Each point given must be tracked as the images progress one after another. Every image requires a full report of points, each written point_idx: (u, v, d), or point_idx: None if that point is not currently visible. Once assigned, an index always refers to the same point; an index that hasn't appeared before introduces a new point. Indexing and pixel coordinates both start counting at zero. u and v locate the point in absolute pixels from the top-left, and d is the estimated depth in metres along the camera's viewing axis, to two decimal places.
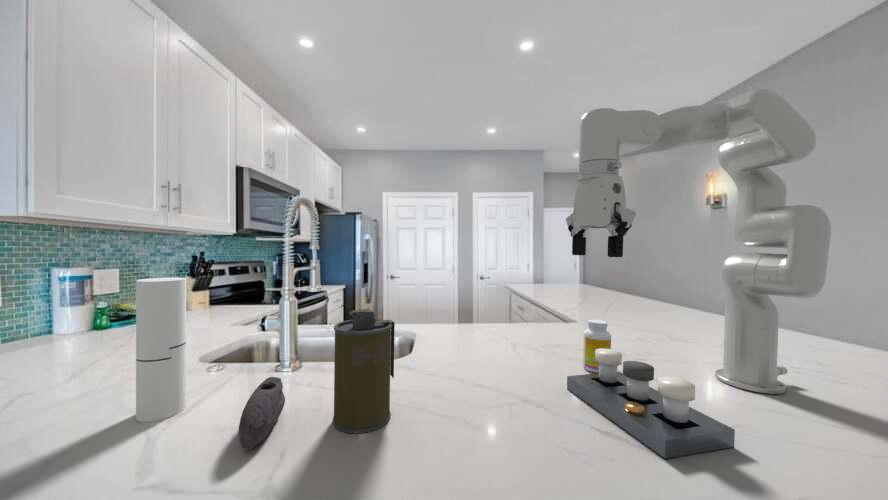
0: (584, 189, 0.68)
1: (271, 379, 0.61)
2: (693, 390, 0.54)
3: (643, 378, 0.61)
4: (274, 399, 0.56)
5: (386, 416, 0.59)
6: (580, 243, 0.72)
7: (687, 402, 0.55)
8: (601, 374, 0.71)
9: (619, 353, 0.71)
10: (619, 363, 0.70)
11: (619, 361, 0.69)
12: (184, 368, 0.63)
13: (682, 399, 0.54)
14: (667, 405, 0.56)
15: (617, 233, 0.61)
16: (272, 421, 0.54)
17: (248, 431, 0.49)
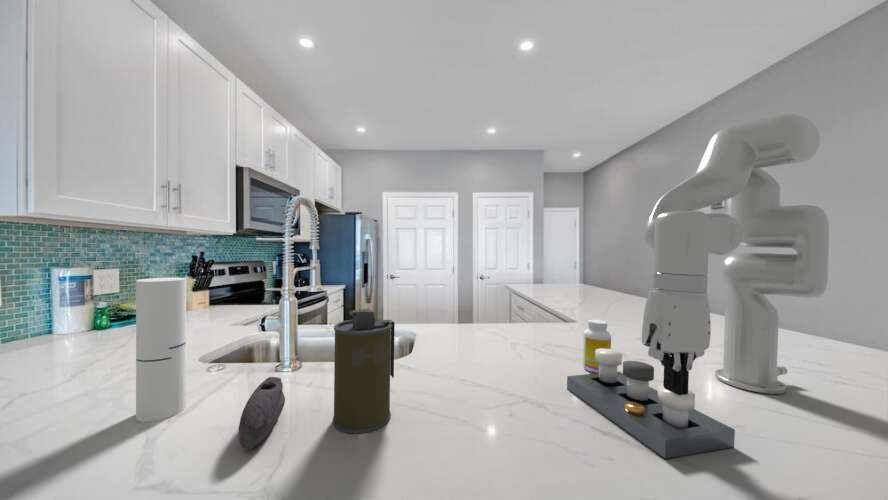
0: (687, 307, 0.53)
1: (271, 379, 0.61)
2: (693, 399, 0.54)
3: (643, 378, 0.61)
4: (274, 399, 0.56)
5: (386, 416, 0.59)
6: None
7: (687, 411, 0.55)
8: (601, 374, 0.71)
9: (619, 353, 0.71)
10: (619, 363, 0.70)
11: (619, 361, 0.69)
12: (184, 368, 0.63)
13: (682, 408, 0.54)
14: (667, 414, 0.56)
15: None
16: (272, 421, 0.54)
17: (248, 431, 0.49)
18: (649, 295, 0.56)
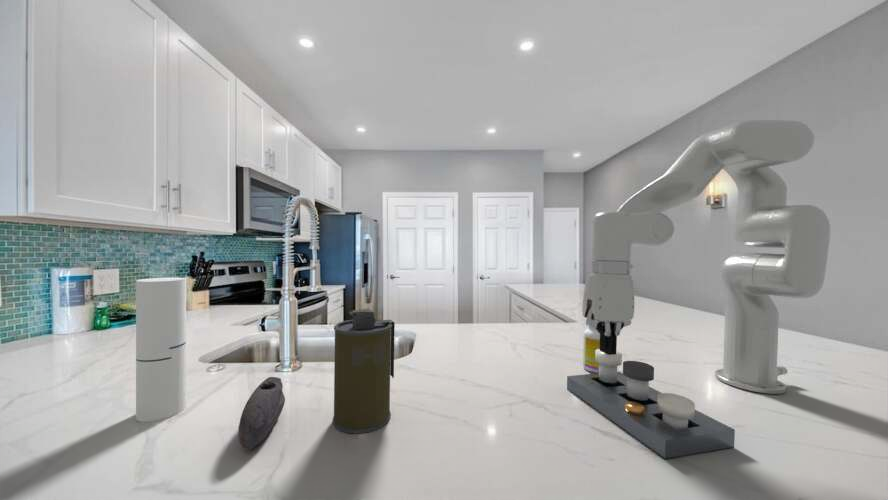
0: (614, 286, 0.69)
1: (271, 379, 0.61)
2: (692, 408, 0.54)
3: (643, 378, 0.61)
4: (274, 399, 0.56)
5: (386, 416, 0.59)
6: None
7: (686, 420, 0.55)
8: (601, 374, 0.71)
9: (619, 354, 0.71)
10: (619, 363, 0.70)
11: (619, 361, 0.69)
12: (184, 368, 0.63)
13: (681, 417, 0.54)
14: None
15: None
16: (272, 421, 0.54)
17: (248, 431, 0.49)
18: (587, 277, 0.72)
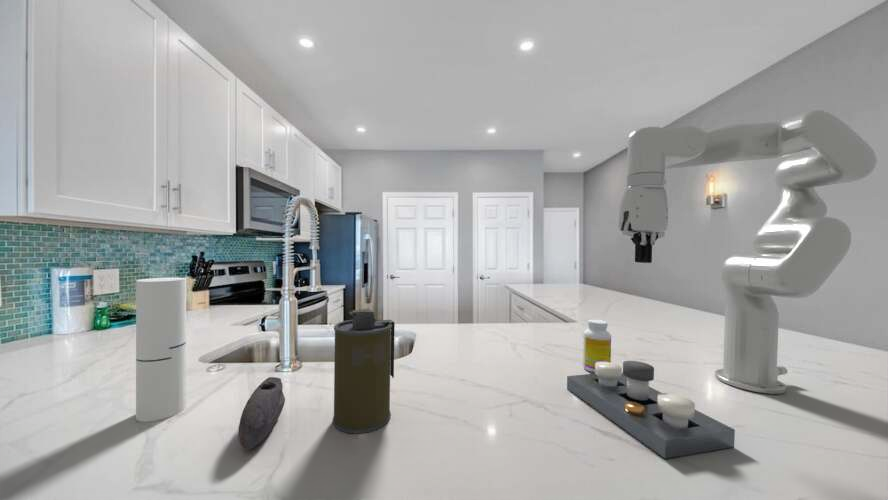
0: (650, 196, 0.74)
1: (271, 379, 0.61)
2: (692, 408, 0.54)
3: (643, 378, 0.61)
4: (274, 399, 0.56)
5: (386, 416, 0.59)
6: None
7: (686, 420, 0.55)
8: None
9: (618, 367, 0.71)
10: (619, 377, 0.70)
11: (619, 375, 0.70)
12: (184, 368, 0.63)
13: (681, 417, 0.54)
14: None
15: None
16: (272, 421, 0.54)
17: (248, 431, 0.49)
18: (623, 192, 0.77)
